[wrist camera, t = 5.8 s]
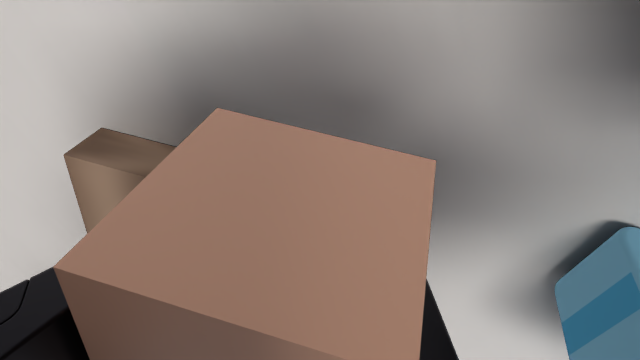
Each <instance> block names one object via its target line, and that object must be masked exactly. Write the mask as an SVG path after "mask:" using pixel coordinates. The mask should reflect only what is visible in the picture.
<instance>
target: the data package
mask: <svg viewBox="0 0 640 360" xmlns="http://www.w3.org/2000/svg"><path fill="white" fill-rule="evenodd" d="M555 297H556V301H557V306H558V310H559V315H560V319H561V324H562V328H563V333H564V337H565V342H566V346H567V351H568V355H569V360H640V229H639V228H635V227H625V228H622V229H620V230H619V231H617V232H616V233H615V234H614V235H613V236H611V237H610V238H609V239H608V240H607V241H605V242H604V243H603V244H602V245H601V246H599V247H598V248H597V249H596V250H595V251H593V252H592V253H591V254H590V255H589V256H587V257H586V258H585V259H584V260H583V261H581V262H580V263H579V264H578V265H577V266H575V267H574V268H573V269H572V270H570V271H569V272H568V273H567V274H566V275H564V276H563V277H562V278H561V279H560V280H559V281H558V282H557V283H556V285H555Z"/></svg>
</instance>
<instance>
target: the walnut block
mask: <svg viewBox="0 0 640 360" xmlns="http://www.w3.org/2000/svg"><path fill="white" fill-rule="evenodd" d="M175 148H176V147H174V146H170V145H166V144H162V143H158V142H155V141H151V140H147V139H143V138H139V137H135V136H131V135H127V134H124V133H120V132H116V131H112V130H108V129H104V128H100V129H99V130H98V131H96V132H95V133H93V134H92V135H91V136H89V137H88V138H86V139H85V140H84V141H82V142H81V143H79V144H78V145H76V146H75V147H74V148H72V149H71V150H69V151H68V152H67V153H65V154H64V158H65V162H66V165H67V168H68V172H69V175H70V178H71V181H72V185H73V188H74V191H75V195H76V198H77V201H78V205H79V208H80V211H81V214H82V218H83V221H84V224H85V228H86V231H87V234H88V233H89V232H90V231H91V230H92V229H93V228H94V227H95V226H96V225H97V224H98V223H99V222H100V221H101V220H102V219H103V218H104V217H105V216H106V215H107V214H108V213H109V212H110V211H111V210H112V209H113V208H114V207H116V206H117V205H118V204H119V203H120V202H121V201H122V200H123V199H124V198H125V197H126V196H127V195H128V194H129V193H130V192H131V191H132V190H133V189H134V188H135V187H136V186H137V185H138V184H139V183H140V182H141V181H142V180H143V179H144V178H145V177H146V176H147V175H148V174H150V173H151V172H152V171H153V170H154V169H155V168H156V167H157V166H158V165H159V164H160V163H161V162H162V161H163V160H164V159H165V158H166V157H167V156H168V155H169V154H170V153H171V152H172V151H173V150H174V149H175Z"/></svg>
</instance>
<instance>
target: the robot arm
mask: <svg viewBox="0 0 640 360" xmlns="http://www.w3.org/2000/svg"><path fill="white" fill-rule="evenodd" d="M0 360H90V359H89V356H88V354H87V351H86V349H85V346H84V344H83V341H82V339H81V336H80V334H79V331H78V329H77V326H76V324H75V321H74V318H73V316H72V313H71V311H70V308H69V306H68V303H67V301H66V298H65V296H64V293H63V291H62V288H61V286H60V283H59V281H58V278H57V276H56V273H55V271H54V268H53V267H52V268H49V269H47V270H45V271H43V272H41V273H39V274H37V275H35V276H33V277H31V278H30V281H29V280H25V281H23V282H21V283H19V284H17V285H15V286H13V287H11V288H9V289H7V290H4V291H2V292H0ZM419 360H459V359H458V357H457V354H456V351H455V349H454V346H453V344H452V341H451V339H450V336H449V334H448V331H447V329H446V326H445V324H444V321H443V319H442V316H441V314H440V311H439V309H438V306H437V304H436V301H435V299H434V296H433V294H432V291H431V289H430V286H429V283H428V281H427V278H426V286H425V298H424V310H423V322H422V333H421V345H420V357H419Z"/></svg>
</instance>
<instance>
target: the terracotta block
mask: <svg viewBox="0 0 640 360" xmlns="http://www.w3.org/2000/svg"><path fill="white" fill-rule="evenodd" d="M435 168H436V160H432V159H427V158H423V157H419V156H415V155H411V154H407V153H403V152H398V151H394V150H390V149H386V148H382V147H378V146H374V145H369V144H365V143H361V142H357V141H353V140H349V139H345V138H340V137H336V136H332V135H328V134H324V133H320V132H316V131H311V130H307V129H303V128H299V127H295V126H291V125H287V124H282V123H278V122H274V121H270V120H266V119H262V118H258V117H253V116H249V115H245V114H241V113H237V112H233V111H229V110H224V109H220V108H216V109H215V110H214V111H213V112H212V113H211V114H210V115H209V116H208V117H207V118H206V119H205V120H204V121H203V122H202V123H201V124H200V125H199V126H198V127H197V128H196V129H195V130H194V131H193V132H192V133H191V134H190V135H189V136H188V137H187V138H186V139H185V140H184V141H182V142H181V143H180V144H179V145H178V146H177V147H176V148H175V149H174V150H173V151H172V152H171V153H170V154H169V155H168V156H167V157H166V158H165V159H164V160H163V161H162V162H161V163H160V164H159V165H158V166H157V167H156V168H155V169H154V170H153V171H152V172H151V173H150V174H148V175H147V176H146V177H145V178H144V179H143V180H142V181H141V182H140V183H139V184H138V185H137V186H136V187H135V188H134V189H133V190H132V191H131V192H130V193H129V194H128V195H127V196H126V197H125V198H124V199H123V200H122V201H121V202H120V203H119V204H118V205H117V206H116V207H114V208H113V209H112V210H111V211H110V212H109V213H108V214H107V215H106V216H105V217H104V218H103V219H102V220H101V221H100V222H99V223H98V224H97V225H96V226H95V227H94V228H93V229H92V230H91V231H90V232H89V233H88V234H87V235H86V236H85V237H84V238H83V239H82V240H81V241H79V242H78V243H77V244H76V245H75V246H74V247H73V248H72V249H71V250H70V251H69V252H68V253H67V254H66V255H65V256H64V257H63V258H62V259H61V260H60V261H59V262H58V263H57V264H56V265H55V266H54V267H53V268H54V271H55V273H56V276H57V278H58V281H59V283H60V286H61V288H62V291H63V293H64V296H65V298H66V301H67V303H68V306H69V308H70V311H71V313H72V316H73V318H74V321H75V324H76V326H77V329H78V331H79V334H80V336H81V339H82V341H83V344H84V346H85V349H86V351H87V354H88V356H89V359H90V360H419V357H420V345H421V333H422V322H423V310H424V298H425V286H426V275H427V263H428V251H429V239H430V227H431V216H432V204H433V192H434V180H435Z"/></svg>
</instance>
